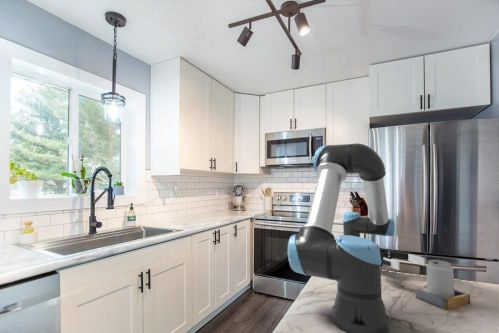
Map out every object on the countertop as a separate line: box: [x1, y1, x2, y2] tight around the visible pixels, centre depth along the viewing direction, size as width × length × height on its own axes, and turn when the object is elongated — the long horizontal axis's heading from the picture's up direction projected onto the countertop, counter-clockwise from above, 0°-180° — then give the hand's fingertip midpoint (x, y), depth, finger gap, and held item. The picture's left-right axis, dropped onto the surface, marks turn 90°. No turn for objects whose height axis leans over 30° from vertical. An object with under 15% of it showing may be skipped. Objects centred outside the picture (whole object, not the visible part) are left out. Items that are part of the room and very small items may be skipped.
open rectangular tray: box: [415, 288, 472, 311], centre depth 90 cm, size 12×10×3 cm
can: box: [425, 259, 455, 299], centre depth 91 cm, size 8×8×12 cm
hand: (412, 264), depth 100 cm, fingers open, 13 cm apart
